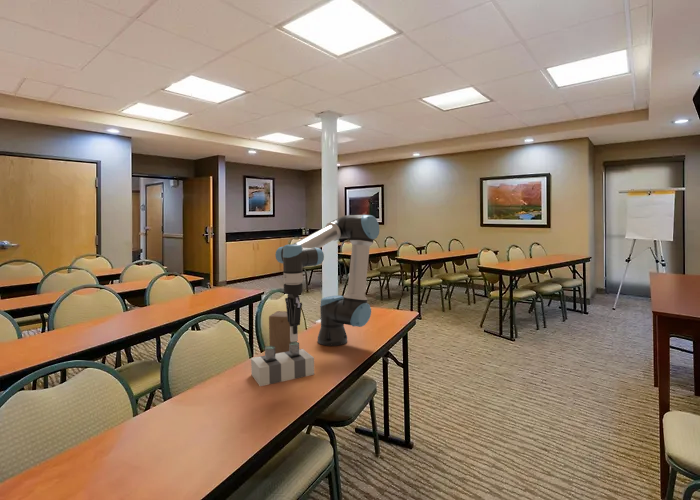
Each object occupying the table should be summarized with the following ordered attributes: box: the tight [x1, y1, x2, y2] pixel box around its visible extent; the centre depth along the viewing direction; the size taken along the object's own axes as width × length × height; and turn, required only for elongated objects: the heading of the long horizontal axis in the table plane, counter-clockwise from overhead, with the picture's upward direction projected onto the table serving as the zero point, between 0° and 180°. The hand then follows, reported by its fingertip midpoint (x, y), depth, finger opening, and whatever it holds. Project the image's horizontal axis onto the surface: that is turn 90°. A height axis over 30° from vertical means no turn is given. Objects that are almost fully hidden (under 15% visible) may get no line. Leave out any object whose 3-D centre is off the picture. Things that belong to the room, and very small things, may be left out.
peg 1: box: [264, 345, 276, 363], centre depth 151 cm, size 4×4×7 cm
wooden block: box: [268, 310, 298, 354], centre depth 173 cm, size 10×10×20 cm
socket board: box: [250, 348, 315, 387], centre depth 153 cm, size 22×12×7 cm, turn 119°
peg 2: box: [289, 341, 300, 358], centre depth 155 cm, size 4×4×7 cm
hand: (294, 341), depth 155 cm, fingers closed
